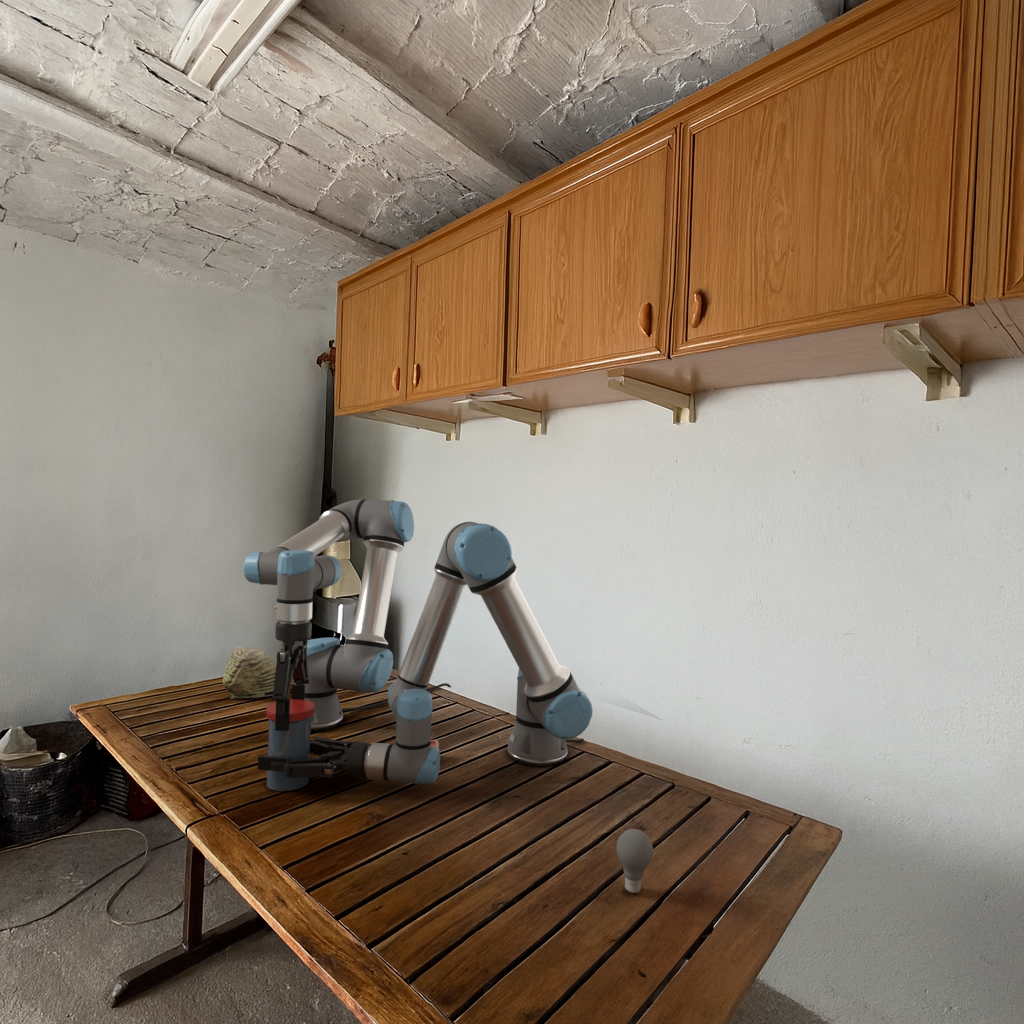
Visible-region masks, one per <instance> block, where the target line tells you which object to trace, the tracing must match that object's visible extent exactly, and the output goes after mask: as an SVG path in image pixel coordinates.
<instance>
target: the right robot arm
mask: <svg viewBox="0 0 1024 1024" xmlns="http://www.w3.org/2000/svg"><path fill="white" fill-rule="evenodd" d="M512 554H513V553H512V546H511V544H510V541H509V539H508V537H507V536H506V535H505V534H504V532H503V531H502V530H500V529H498V528H497V527H495V526H494V525H490V524H488V523H478V522H474V521H465V522H460V523H458V524H456V525H455V526H453V527H452V528H451V529H450V530H449V531H448V533H447V534H446V536H445V538H444V540H443V543H442V546H441V548H440V552H439V553H438V557H437V560H436V563H435V565H434V568H433V571H434V573H435V578H434V580H433V582H432V585H431V587H430V590H429V593H428V596H427V598H426V601H425V603H424V606H423V608H422V611H421V614H420V616H419V618H418V622H417V625H416V627H415V630H414V633H413V635H412V638H411V639H410V643H409V645H408V647H407V651H406V654H405V656H404V659H403V661H402V664H401V666H400V669H399V671H398V674H397V676H396V679H395V681H394V682H393V683H392V684H391V685H390V686H389V688H388V690H387V701H388V704H387V705H388V706H389V708H390V710H391V712H392V715H393V718H394V720H395V725H396V726H395V744H393V743H385V742H384V743H383V742H372V743H370V742H365V741H354V742H353V741H342V740H337V739H331V738H325V737H319V736H314V737H313V739H310V755H311V754H313V755H316V756H313V757H312V756H311V757H310V758H303V759H294V760H290V757H273V756H268V755H258V756H257V770H261V771H267V770H271V771H285V772H286V777H287V778H292V777H309V778H327V779H332V778H334V777H335V772H336V773H337V772H345V773H346V775H347V777H348V778H349V779H353V780H354V779H355V780H365V779H367V780H370V781H378V782H379V783H382V782H394V783H395V782H396V783H408V784H414V785H430V784H431V785H432V784H434V783H435V782H436V781H437V779H438V777H439V774H440V768H441V750H440V749H438V748H436V747H433V746H431V742H430V740H431V734H432V718H433V717H432V716H433V711H434V709H433V698H432V694H431V692H430V691H426V689H428V687H429V683H430V681H431V678H432V675H433V673H434V670H435V667H436V665H437V663H438V660H439V657H440V655H441V652H442V649H443V646H444V644H445V642H446V638H447V636H448V633H449V631H450V628H451V625H452V623H453V620H454V618H455V615H456V612H457V609H458V607H459V604H460V602H461V599H462V598H463V597H462V596H463V594H464V591H465V589H466V587H468V589H469V591H470V593H472V594H473V595H474V594H475V595H477V596H480V597H481V599H482V601H483V603H484V605H485V606H486V608H487V610H488V612H489V615H490V616H491V618H492V621H493V622H494V623H495V625H496V627H497V629H498V631H499V633H500V635H501V637H502V638H503V639H502V640H503V641H504V642H505V644H506V647H507V648H508V650H509V652H510V654H511V656H512V657H513V659H514V661H515V663H516V665H517V667H518V671H517V677H516V679H517V683H516V684H517V685H516V686H517V687H516V708H515V709H516V711H515V724H514V726H513V729H512V732H511V733H510V736H509V739H508V743H507V751H506V753H507V755H508V757H509V758H510V759H512V760H513V761H515V762H516V763H517V762H518V763H520V764H522V765H523V764H524V765H526V766H535V767H549V766H555V765H559V764H561V763H563V762H565V761H566V760H567V758H568V745H567V744H568V743H574V744H575V743H576V744H579V743H583V742H584V741H585V739H584V738H578V739H577V738H576V737H578V736H580V735H581V734H583V732H585V730H587V728H588V727H589V726H590V723H591V719H592V717H593V712H594V711H593V704H592V701H591V700H590V698H589V696H588V695H587V694H586V693H585V692H584V691H582V690H581V689H580V688H579V685H578V683H577V682H576V680H575V678H574V676H573V674H572V672H571V670H570V668H569V667H568V666H565V665H562V664H560V663H559V662H558V660H557V657H556V656H555V654H554V651H553V650H552V647H551V645H550V644H549V641H548V640H547V638H546V636H545V634H544V632H543V631H542V628H541V627H540V625H539V622H538V620H537V619H536V617H535V615H534V612H533V611H532V609H531V607H530V605H529V603H528V601H527V599H526V597H525V595H524V593H523V591H522V589H521V588H520V585H519V584H518V582H517V579H516V578H515V577H516V574H517V571H518V567H517V566H516V565H517V564H516V563H515V561H514V560H513V557H512V556H513V555H512ZM575 738H576V739H575Z"/></svg>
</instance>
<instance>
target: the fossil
mask: <svg viewBox="0 0 1024 1024" xmlns="http://www.w3.org/2000/svg"><path fill="white" fill-rule="evenodd" d="M276 665H277V664H276V663H275V662H274V660H273V659H272V658H271V657H270V656H269V655H268V654H267V653H266V652H265V650H264V649H263V648H260V647H258V648H251V647H247V646H246V647H245V646H238V647H237V648H236V649H235V650H233V651H232V653H231V656H230V657H229V659H228V660H227V663H226V666H225V668H224V671H223V675H222V676H223V677H222V685H223V687H224V688H225V690H226V691H228V693H229V698H230V699H250V698H264V697H272V696H273V689H274V681H275V673H276Z"/></svg>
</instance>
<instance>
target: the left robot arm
mask: <svg viewBox="0 0 1024 1024" xmlns="http://www.w3.org/2000/svg"><path fill="white" fill-rule="evenodd" d="M414 533H415V520H414V515H413V511H412V509H411V507H410V506H409V504H408V503H407V502H405V501H398V500H393V499H392V500H381V499H364V498H363V499H361V498H358V499H353V500H349V501H346V502H343V503H340V504H338V505H336V506H333V507H332V508H330V509H328V510H326V511H324V512H323V513H322V514H321V515H320V516H319V519H318V520H316V521H315V522H313V523H312V524H311V525H309V526H307V527H306V528H304V529H303V530H301V531H299V532H298V533H295V535H293V536H291V537H289V538H288V539H287V540H285V541H283V542H282V543H279V545H277V546H276V547H273V548H272V549H270V550H269V551H266V552H264V551H254V552H250V553H249V554H248V555H246V557H245V559H244V561H243V566H242V570H243V576H244V578H245V579H246V581H247V582H249V583H251V584H259V585H261V586H262V585H270V586H276V604H275V605H274V607H273V609H275V610H276V611H275V612H276V615H275V620H277V622H276V623H275V629H274V630H275V631H274V637H275V639H276V640H277V641H281V642H282V643H283V644H282V648H281V649H280V651H277V652H276V664H275V665H276V673H275V681H274V689H273V695H272V696H271V702H272V701H273V702H274V701H275V702H276V718H275V731H288V730H289V718H290V699H289V698H290V692H291V699H300V700H307V701H310V702H312V703H314V707H315V712H314V714H313V715H312V716H311V733H316V732H325V731H329V730H332V729H335V728H337V727H339V726H340V725H342V723H343V722H344V713H343V712H351V711H361V710H362V711H363V710H367V709H373V708H377V707H381V706H385V705H389V704H388V700H386V701H382V702H378V703H374V704H369V705H365V706H357V707H346V708H342V706H341V702H340V699H339V695H338V690H344V691H345V690H346V691H354V692H359V693H377V692H380V691H381V690H382V689H383V688H384V687H385V685H386V684H387V683H388V681H389V679H390V677H391V675H392V671H393V668H394V667H393V666H394V654H393V652H392V651H391V650H390V649H388V647H389V642H388V641H387V639H385V631H386V625H387V620H388V615H389V614H388V613H389V607H390V603H391V602H390V601H391V595H392V588H393V582H394V578H395V577H394V576H395V570H396V565H397V558H398V554H399V553H400V552H402V551H404V547H405V543H408V542H410V541H412V539H413V537H414ZM347 539H361V540H363V542H362V544H363V545H364V546H365V548H366V549H367V550H366V554H365V555H366V556H365V562H364V567H363V571H362V572H363V573H362V578H361V584H360V589H359V595H358V601H357V607H356V612H355V618H354V624H353V628H352V633H351V634H350V635H348V636H347V637H346V638H345V642H344V644H343V645H342V644H340V643H341V641H340V639H339V638H338V637H334V636H333V637H318V638H313V639H311V637H312V628H313V627H312V626H313V625H312V622H311V620H312V619H313V605H314V604H313V603H314V602H313V598H314V597H313V595H314V591H315V590H320V589H327V588H329V587H332V586H333V585H335V584H337V583H338V582H340V579H341V578H342V575H343V566H342V564H341V562H340V560H339V559H338V558H336V557H335V556H333V555H330V554H329V555H328V554H327V555H325V554H321V553H322V552H324V551H325V550H326V549H327V548H329V547H331V546H332V545H333V544H334V543H337V544H338V543H341V542H344V541H345V540H347ZM319 554H320V555H319ZM292 681H293V684H292ZM441 687H447V688H452V685H451V684H450V683H447V682H445V683H444V682H443V683H440V684H438V685H434V686H432V687H431V686H430V687H429V688H428V687H427V689H426V691H428V692H430V691H433V690H436V689H439V688H441Z"/></svg>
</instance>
